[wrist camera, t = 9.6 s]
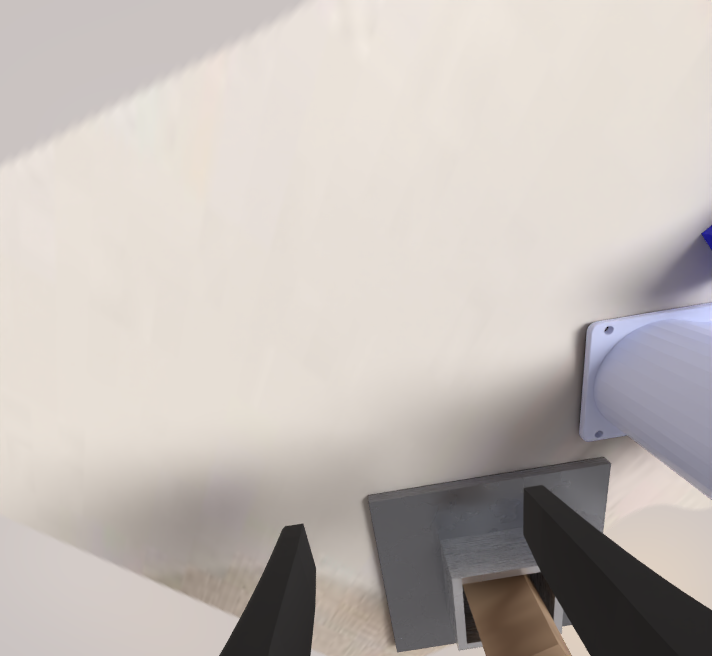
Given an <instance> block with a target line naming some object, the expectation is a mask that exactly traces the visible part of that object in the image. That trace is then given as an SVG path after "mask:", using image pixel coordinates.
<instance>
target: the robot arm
mask: <svg viewBox="0 0 712 656" xmlns="http://www.w3.org/2000/svg"><path fill="white" fill-rule="evenodd" d="M606 327H608V330H607V331H606V332H604V331H605V328H606ZM597 431H598V432H597ZM596 432H597V433H596ZM579 435H580V437H581V438H582V439H583V440H584V441H587V442H590V441H596V440H602V439H608V438H614V437H621V436H629V437H630V438H631V439H633V440H634V441H635V442H637V443H638V444H639V445H640V446H642V447H643V448H644V449H646V450H647V451H648V452H650V453H651V454H652V455H654V456H655V457H656V458H657V459H659V460H660V461H661V462H663V463H664V464H665V465H667V466H668V467H669V468H671V469H672V470H673V471H674V472H676V473H677V474H678V475H680V476H681V477H682V478H684V479H685V480H686V481H688V482H689V483H690V484H691V485H693V486H694V487H695V488H697V489H698V490H699V491H701V492H702V493H703V494H705V495H706V496H707V497H708V498H710V499H711V500H712V302H711V303H705V304H699V305H693V306H687V307H681V308H675V309H669V310H663V311H657V312H651V313H645V314H639V315H633V316H627V317H621V318H615V319H609V320H603V321H597V322H594V323H592V324H591V325H590V326H589V327H588V329H587V336H586V349H585V363H584V376H583V390H582V403H581V416H580V430H579ZM523 535H524V537H525V540H526V542H527V544H528V546H529V548H530V550H531V553H532V555H533V557H534V559H535V561H536V563H537V565H538V567H539V569H540V571H541V573H542V575H543V576H544V578H545V580H546V582H547V583H548V585H549V587H550V588H551V590H552V592H553V593H554V595H555V597H556V598H557V600H558V602H559V604H560V605H561V607H562V609H563V610H564V612H565V614H566V615H567V617H568V619H569V620H570V622H571V624H572V625H573V627H574V629H575V630H576V632H577V633H578V635H579V637H580V639H581V640H582V642H583V644H584V645H585V647H586V648H587V650H588V652H589V654H590V655H591V656H712V610H711V609H709V608H707V607H706V606H704V605H703V604H701V603H700V602H698V601H696V600H695V599H694V598H692V597H690V596H689V595H687V594H686V593H684V592H683V591H681V590H680V589H678V588H677V587H675V586H674V585H672V584H671V583H669V582H668V581H667V580H665V579H664V578H662V577H661V576H659V575H658V574H657V573H655V572H654V571H653V570H651V569H650V568H648V567H647V566H646V565H644V564H643V563H641V562H640V561H638V560H637V559H636V558H635V557H633V556H632V555H631V554H629V553H628V552H626V551H625V550H624V549H622V548H621V547H620V546H619V545H617V544H616V543H615V542H613V541H612V540H611V539H609V538H608V537H607V536H606V535H604V534H603V533H602V532H600V531H599V530H598V529H597V528H595V527H594V526H593V525H591V524H590V523H589V522H588V521H586V520H585V519H584V518H583V517H581V516H580V515H579V514H578V513H577V512H575V511H574V510H573V509H572V508H570V507H569V506H568V505H567V504H566V503H564V502H563V501H562V500H561V499H559V498H558V497H557V496H556V495H555V494H553V493H552V492H551V491H550V490H548V489H547V488H546V487H545V486H543V485H538V486H532V487H526V488H524V497H523ZM315 596H316V567H315V563H314V560H313V556H312V553H311V549H310V546H309V542H308V539H307V535H306V531H305V528H304V524H297V525H291V526H285V527H284V528H283V529H282V531H281V534H280V536H279V539H278V541H277V543H276V546H275V548H274V550H273V552H272V555H271V557H270V559H269V561H268V563H267V566H266V568H265V570H264V572H263V574H262V576H261V578H260V580H259V582H258V584H257V586H256V588H255V590H254V592H253V594H252V596H251V598H250V600H249V602H248V604H247V606H246V608H245V610H244V612H243V614H242V616H241V618H240V619H239V621H238V623H237V625H236V627H235V629H234V630H233V632H232V634H231V636H230V638H229V640H228V641H227V643H226V645H225V647H224V648H223V650H222V652H221V654H220V655H219V656H310V654H311V644H312V635H313V625H314V615H315Z"/></svg>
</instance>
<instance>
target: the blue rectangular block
mask: <svg viewBox="0 0 712 656" xmlns="http://www.w3.org/2000/svg"><path fill="white" fill-rule="evenodd" d="M702 236H703V238H704V239H705V241H706V242H707V244H708V245H709V247H710V249H711V250H712V225H711V226H710V227H709V228H708V229H707V230H705V231H704V232H703V233H702Z"/></svg>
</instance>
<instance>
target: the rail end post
mask: <svg viewBox="0 0 712 656" xmlns="http://www.w3.org/2000/svg"><path fill="white" fill-rule="evenodd" d="M462 585H463V588H464V591H465V594H466V597H467V600H468V603H469V606H470V609H471V612H472V615H473V618H474V621H475V624H476V627H477V630H478V633H479V636H480V639H481V642H482V645H483V648H484V651H485V654H486V656H572V655H571V653H570V651H569V649H568V648H567V646H566V644H565V642H564V640H563V638H562V636H561V634H560V632H559V630H558V629H557V627H556V625H555V623H554V621H553V619H552V617H551V615H550V613H549V611H548V610H547V608H546V606H545V604H544V602H543V600H542V598H541V596H540V594H539V592H538V591H537V589H536V587H535V585H534V583H533V581H532V579H531V577H530V575H529V574H525V575H518V576H512V577H506V578H500V579H493V580H487V581H481V582H475V583H468V584H462Z"/></svg>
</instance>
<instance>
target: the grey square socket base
mask: <svg viewBox="0 0 712 656" xmlns="http://www.w3.org/2000/svg"><path fill="white" fill-rule="evenodd" d="M610 468H611V463H610V462H609V461H608V460H607V459H606V458H604V457H602V458H596V459H589V460H583V461H577V462H571V463H565V464H559V465H552V466H546V467H540V468H534V469H528V470H522V471H515V472H509V473H503V474H497V475H491V476H485V477H479V478H472V479H466V480H460V481H454V482H448V483H442V484H435V485H429V486H423V487H417V488H411V489H405V490H398V491H392V492H386V493H380V494H374V495H368V501H369V507H370V512H371V517H372V523H373V528H374V533H375V538H376V543H377V549H378V554H379V559H380V564H381V570H382V575H383V580H384V585H385V591H386V596H387V601H388V606H389V611H390V617H391V622H392V627H393V632H394V638H395V643H396V648H397V652H403V651H410V650H416V649H422V648H429V647H435V646H441V645H448V644H454V643H457V646H458V650H465V649H471V648H477V647H483V645H482V642H481V639H480V636H479V633H478V630H477V627H476V624H475V621H474V618H473V615H472V612H471V609H470V606H469V603H468V600H467V597H466V594H465V591H464V588H463V585H462V584H468V583H475V582H481V581H487V580H493V579H500V578H506V577H512V576H518V575H525V574H529V575H530V577H531V579H532V581H533V583H534V585H535V587H536V589H537V591H538V592H539V594H540V596H541V598H542V600H543V602H544V604H545V606H546V608H547V610H548V611H549V613H550V615H551V617H552V619H553V621H554V623H555V625H556V627H557V629H558V630H559V632H560V634H562V626H567V625H572V624H571V622H570V620H569V619H568V617H567V615H566V614H565V612H564V610H563V609H562V607H561V605H560V604H559V602H558V600H557V598H556V597H555V595H554V593H553V592H552V590H551V588H550V587H549V585H548V583H547V582H546V580H545V578H544V576H543V575H542V573H541V571H540V569H539V567H538V565H537V563H536V561H535V559H534V557H533V555H532V553H531V550H530V548H529V546H528V544H527V542H526V540H525V537H524V535H523V497H524V488H526V487H532V486H538V485H543V486H545V487H546V488H547V489H548V490H550V491H551V492H552V493H553V494H555V495H556V496H557V497H558V498H559V499H561V500H562V501H563V502H564V503H566V504H567V505H568V506H569V507H570V508H572V509H573V510H574V511H575V512H577V513H578V514H579V515H580V516H581V517H583V518H584V519H585V520H586V521H588V522H589V523H590V524H591V525H593V526H594V527H595V528H597V529H598V530H599V531H600V532H602V533H603V528H604V519H605V511H606V502H607V493H608V485H609V476H610Z"/></svg>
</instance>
